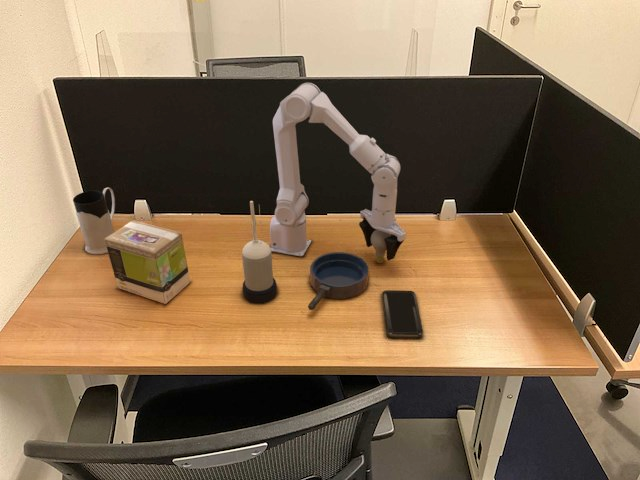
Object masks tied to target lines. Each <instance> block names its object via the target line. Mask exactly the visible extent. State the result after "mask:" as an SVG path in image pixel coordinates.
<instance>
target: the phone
mask: <svg viewBox="0 0 640 480" xmlns="http://www.w3.org/2000/svg"><path fill="white" fill-rule="evenodd" d="M381 299H382V307H383V308H382V309H383V316H384V325H385V333H386V336H387V337H388V338H390V339H414V340H415V339H421V338H422V337H423V335H424V330H423V329H424V328H423V325H422V324H423V323H422V319H421V316H420V310H419V304H418V300H417V294H416V292H415V291H413V290H400V289H399V290H397V289H396V290H395V289H394V290H391V289H390V290H389V289H387V290H383V291H382V293H381Z"/></svg>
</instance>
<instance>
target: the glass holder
mask: <svg viewBox="0 0 640 480" xmlns="http://www.w3.org/2000/svg"><path fill="white" fill-rule="evenodd" d="M108 190H109V192H110V195H111V203H112V204H111V212H110V211H109V209H108V205H107V201H106V192H107V191H108ZM72 202H73V205H74V209H75V212H76V218H77V221H78V224H79V227H80V231H81V234H82V237H83V239H84V243H85V246H84V248H85V249H84V251H85V252H87V254H91V255H103V254H106V253H107V254H108V250H107V247H106V243H105V238H106V237H108V236H109V235H111V234H113V233H114V232H115V229H114V225H113V218H114V214H115V209H116V197H115V193H114V190H113V189H112V187H105V188H103V190H102V191H100V190H86V191H83V192H80V193H77V194H76V195H74V197H73V199H72Z"/></svg>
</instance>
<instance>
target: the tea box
mask: <svg viewBox="0 0 640 480" xmlns="http://www.w3.org/2000/svg"><path fill="white" fill-rule="evenodd" d="M105 243H106V247H107V250H108V252H107V254H108V257H109V261H110V264H111V269H112V272H113V275H114V279H115V283H116V285H117V289H120V290H123V291H125V292H128V293H132V294H134V295H137V296H141V297H143V298H147V299H150V300H153V301H155V302H158V303H160V304H164V305H167V304H168V302H170V301H172V299H173V298H175V297H176V296H177V295H178V294H179V293H180V292H181V291H182V290H183V289H185V287H187V286H188V285H189V284H190V283H191V279H190V272H189V267H188V262H187V261H188V260H187V256H186V250H185V244H184V239H183V234H182V232H180V231H177V230H173V229H169V228H165V227H161V226H157V225H155V224H154V225H153V224H150V223H146V222H143V221H138V220H135V219H133V220H131V221H129V222H128V223H126V224H125V225H123V226H122V227H120V228H119V229H117V230H115V231H114V233H113V234H111V235H109V236H108V237H106V238H105Z"/></svg>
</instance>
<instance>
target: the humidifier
mask: <svg viewBox="0 0 640 480" xmlns="http://www.w3.org/2000/svg"><path fill="white" fill-rule="evenodd" d="M249 207H250V209H249V210H250V218H251V222H252V223H251V234H252V240H250V241H248V242H247V243H246V244H245V245H244V247H243V248H242V250H241V257H242V267H243V276H244V278H243V279H244V280H243V282H242V296H243V298H244V300H246V301H247V303H248V302H249V303H251V304H254V305H255V304H256V305H262V304H266V303H269V302H272V301H273V300H274V299H275V298H276V297H277V295H278V287H277V286H278V285H277V282H276V279H275V278H274V271H273V256H272V251H271V246H270V245H269V244H268V243H267V242H265V241H263V240H262V239H259V238H258V235H257V219H256V215H255V206H254V201H253V200H250V201H249ZM258 211H259V213H258V214H261V208H260V205H258ZM259 224H260V226H261V228H260V235H261V237H260V238H263V224H262V222H261V221H259Z"/></svg>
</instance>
